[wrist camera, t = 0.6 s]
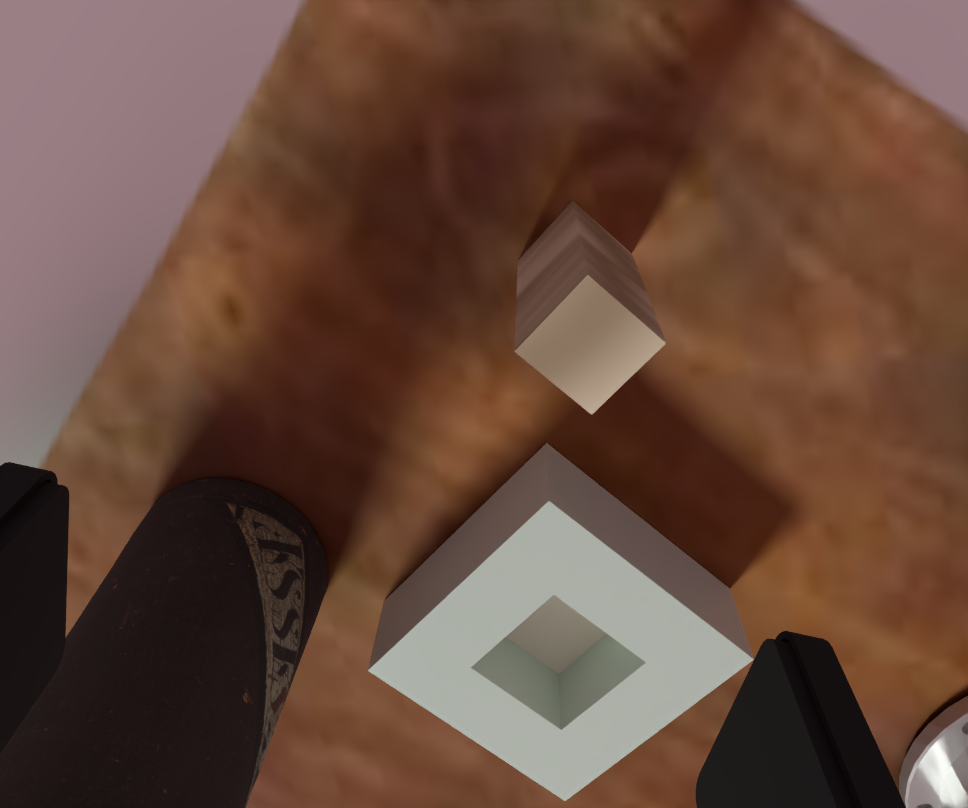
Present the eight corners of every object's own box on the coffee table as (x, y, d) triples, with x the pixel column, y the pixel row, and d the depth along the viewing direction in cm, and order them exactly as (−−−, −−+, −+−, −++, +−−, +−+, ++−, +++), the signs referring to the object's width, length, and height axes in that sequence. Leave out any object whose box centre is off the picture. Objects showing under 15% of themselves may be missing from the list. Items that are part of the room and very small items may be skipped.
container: (295, 657, 42) (119, 1168, 24) (114, 586, 40) (-219, 1070, 22) (364, 521, 38) (220, 1000, 20) (168, 438, 37) (-175, 872, 19)
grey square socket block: (730, 589, 39) (753, 659, 35) (561, 723, 43) (565, 801, 39) (546, 442, 36) (549, 500, 32) (383, 601, 40) (368, 670, 36)
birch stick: (631, 253, 33) (666, 343, 24) (576, 310, 34) (591, 414, 26) (572, 200, 32) (587, 274, 24) (517, 260, 33) (514, 351, 25)
